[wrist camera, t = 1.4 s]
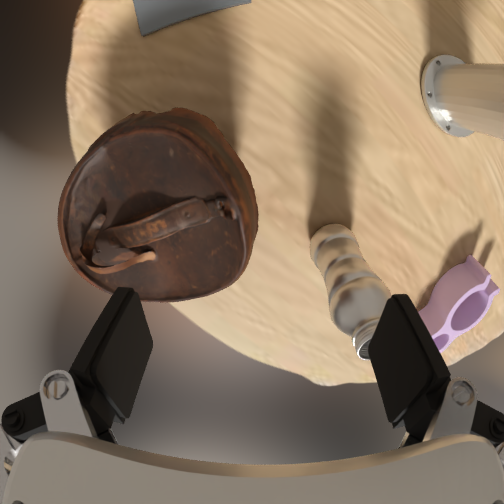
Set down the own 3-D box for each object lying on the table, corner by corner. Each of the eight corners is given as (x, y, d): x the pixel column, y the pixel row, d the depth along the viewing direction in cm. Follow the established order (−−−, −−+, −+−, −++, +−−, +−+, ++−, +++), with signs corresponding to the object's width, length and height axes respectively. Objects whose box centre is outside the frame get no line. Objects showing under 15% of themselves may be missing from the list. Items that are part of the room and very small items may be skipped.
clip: (425, 339, 50) (436, 362, 44) (396, 323, 47) (408, 348, 41) (485, 275, 42) (503, 294, 35) (465, 247, 38) (486, 267, 32)
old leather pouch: (102, 205, 36) (29, 273, 20) (168, 80, 28) (92, 65, 12) (202, 265, 41) (178, 362, 26) (286, 155, 33) (318, 205, 17)
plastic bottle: (298, 236, 38) (327, 348, 21) (338, 209, 36) (400, 306, 19) (321, 266, 41) (356, 378, 23) (359, 242, 38) (417, 344, 21)
